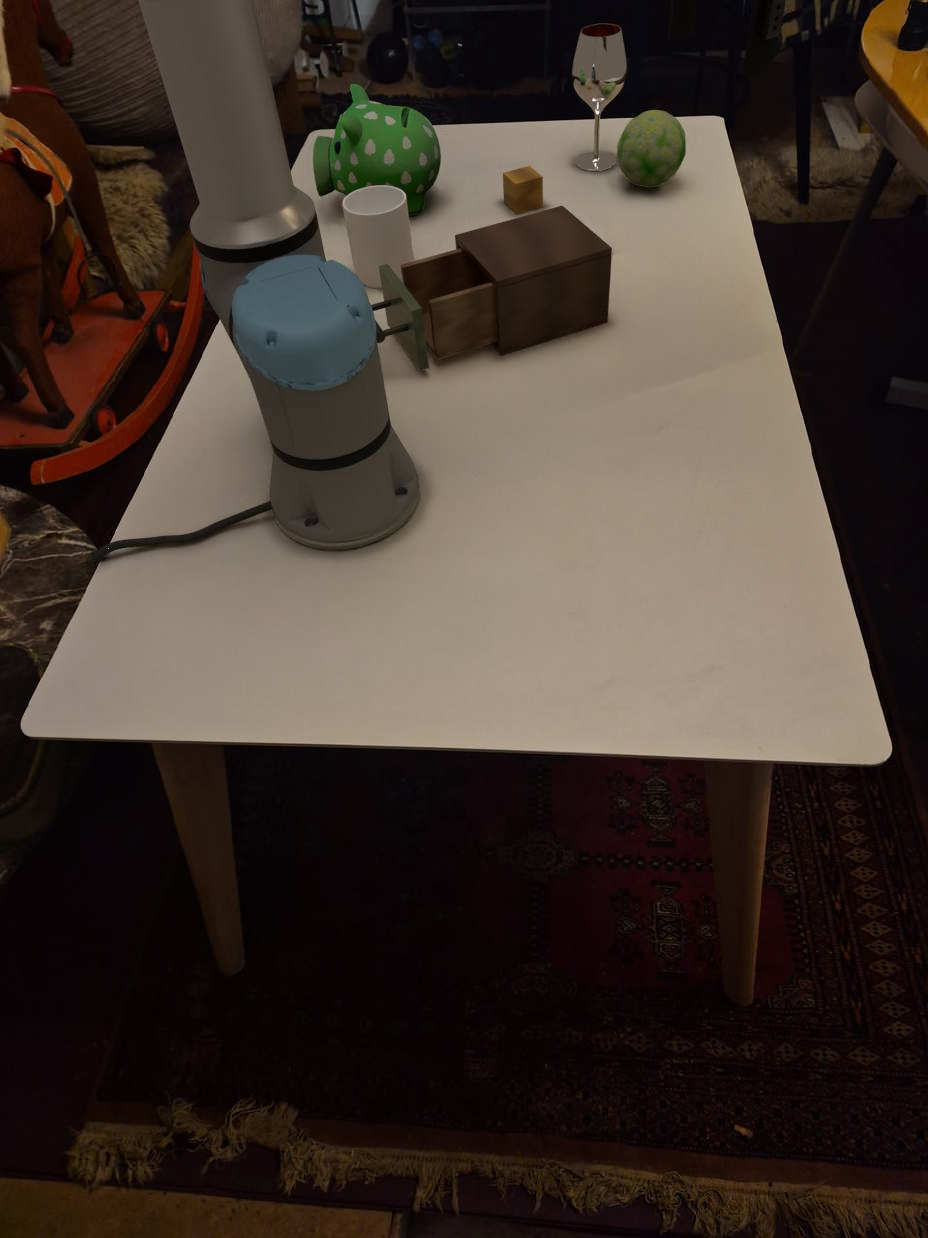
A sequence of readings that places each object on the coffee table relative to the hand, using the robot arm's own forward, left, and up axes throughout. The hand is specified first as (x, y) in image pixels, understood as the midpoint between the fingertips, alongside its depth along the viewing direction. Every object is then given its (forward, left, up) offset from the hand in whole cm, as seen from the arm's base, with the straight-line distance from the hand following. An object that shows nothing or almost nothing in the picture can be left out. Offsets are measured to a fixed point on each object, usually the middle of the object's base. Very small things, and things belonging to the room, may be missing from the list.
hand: (716, 55), depth 86 cm
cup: (-29, +29, -28) cm, 49 cm away
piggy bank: (-23, +47, -28) cm, 59 cm away
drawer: (-30, +8, -27) cm, 41 cm away
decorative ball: (+14, +32, -28) cm, 44 cm away
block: (-5, +36, -28) cm, 45 cm away
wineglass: (+11, +43, -28) cm, 52 cm away
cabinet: (-17, +8, -28) cm, 33 cm away
